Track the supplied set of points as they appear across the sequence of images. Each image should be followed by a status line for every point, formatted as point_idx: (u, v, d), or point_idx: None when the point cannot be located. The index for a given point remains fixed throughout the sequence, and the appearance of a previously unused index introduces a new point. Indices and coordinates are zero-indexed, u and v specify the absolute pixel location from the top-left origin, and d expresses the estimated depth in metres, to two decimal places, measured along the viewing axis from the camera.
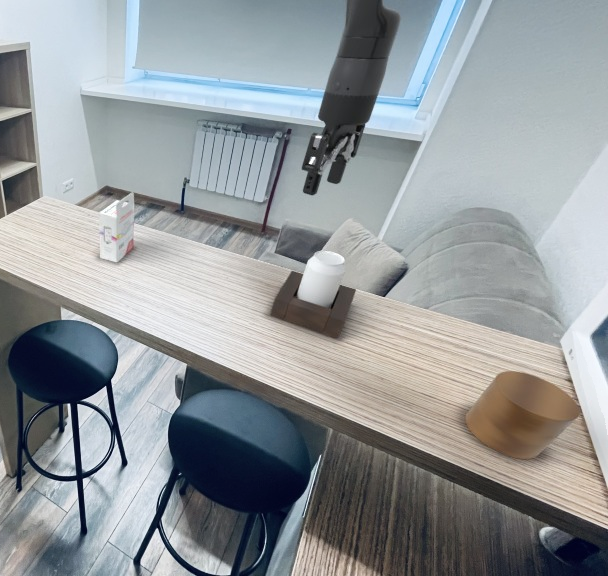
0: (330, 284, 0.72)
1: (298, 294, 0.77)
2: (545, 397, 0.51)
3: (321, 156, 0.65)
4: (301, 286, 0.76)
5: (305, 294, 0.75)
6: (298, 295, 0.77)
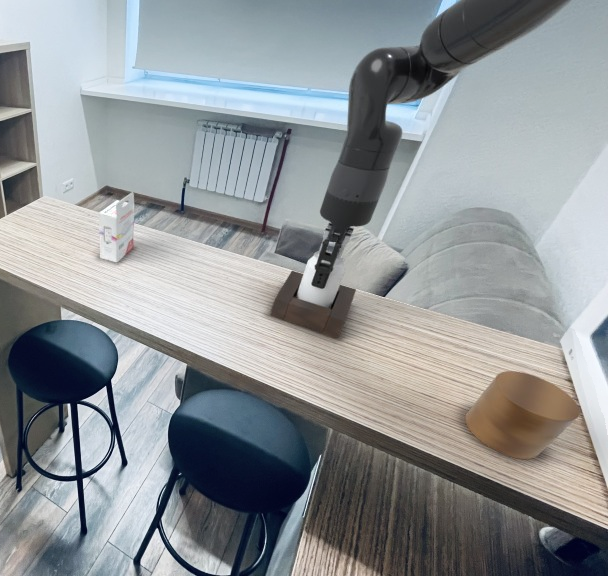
0: (330, 284, 0.72)
1: (298, 294, 0.77)
2: (545, 397, 0.51)
3: (335, 259, 0.66)
4: (301, 286, 0.76)
5: (305, 294, 0.75)
6: (298, 295, 0.77)
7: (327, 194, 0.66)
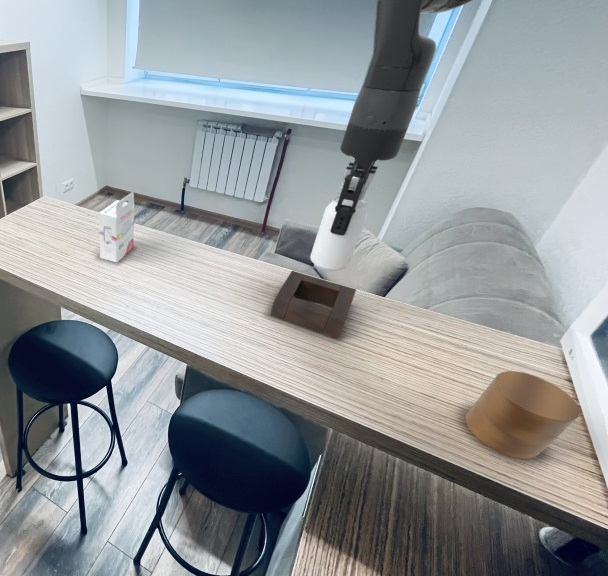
0: (351, 230, 0.66)
1: (315, 246, 0.71)
2: (545, 397, 0.51)
3: (358, 198, 0.60)
4: (318, 236, 0.70)
5: (322, 244, 0.69)
6: (315, 247, 0.71)
7: (349, 126, 0.60)
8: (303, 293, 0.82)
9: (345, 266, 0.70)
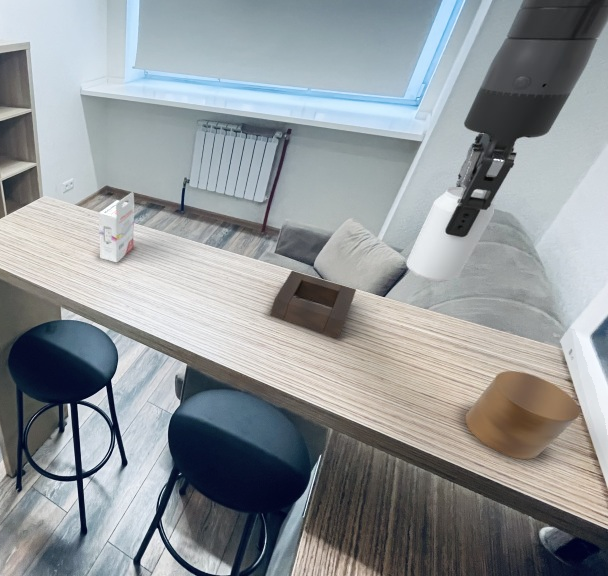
0: (473, 230, 0.51)
1: (416, 250, 0.57)
2: (545, 397, 0.51)
3: (498, 187, 0.45)
4: (422, 238, 0.56)
5: (430, 248, 0.55)
6: (416, 252, 0.57)
7: (484, 93, 0.46)
8: (303, 293, 0.82)
9: (457, 276, 0.55)
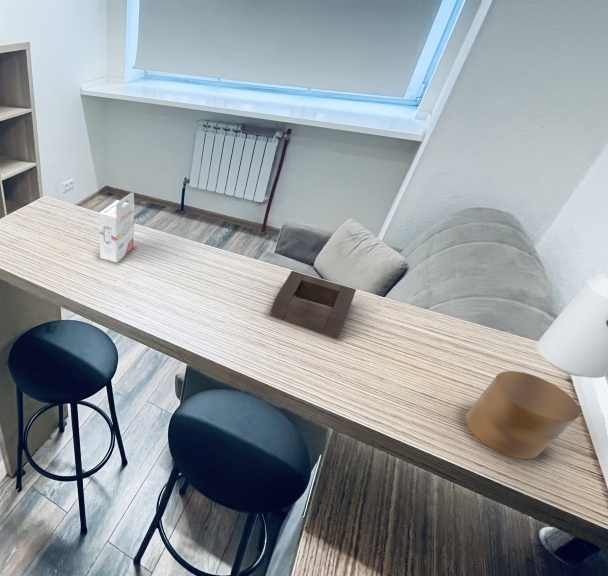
0: None
1: (555, 338, 0.47)
2: (545, 397, 0.51)
3: None
4: (568, 326, 0.45)
5: (579, 340, 0.44)
6: (556, 340, 0.47)
7: None
8: (303, 293, 0.82)
9: None
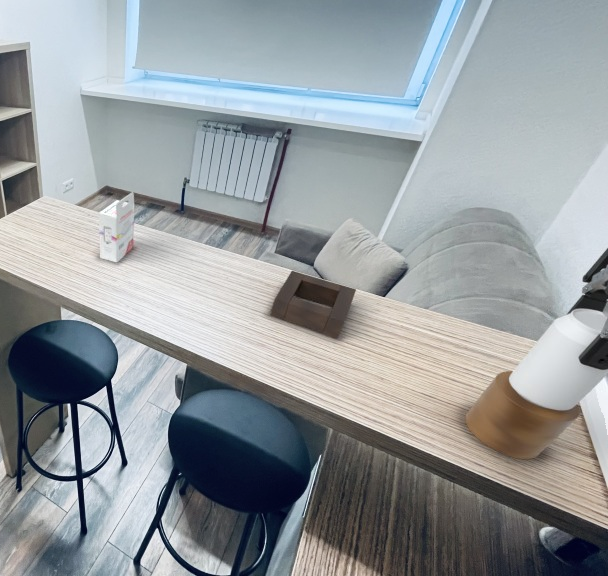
0: None
1: (526, 372, 0.50)
2: None
3: None
4: (536, 362, 0.49)
5: (547, 376, 0.48)
6: (526, 374, 0.50)
7: None
8: (303, 293, 0.82)
9: None
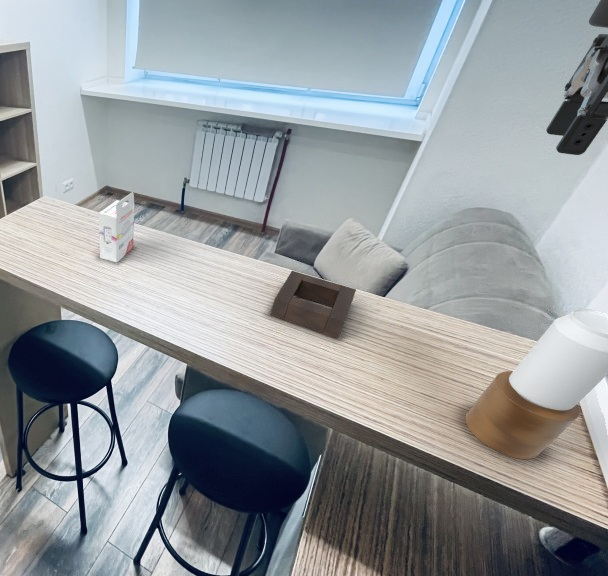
0: (607, 366, 0.44)
1: (526, 372, 0.50)
2: None
3: None
4: (536, 362, 0.49)
5: (547, 376, 0.48)
6: (526, 374, 0.50)
7: None
8: (303, 293, 0.82)
9: None
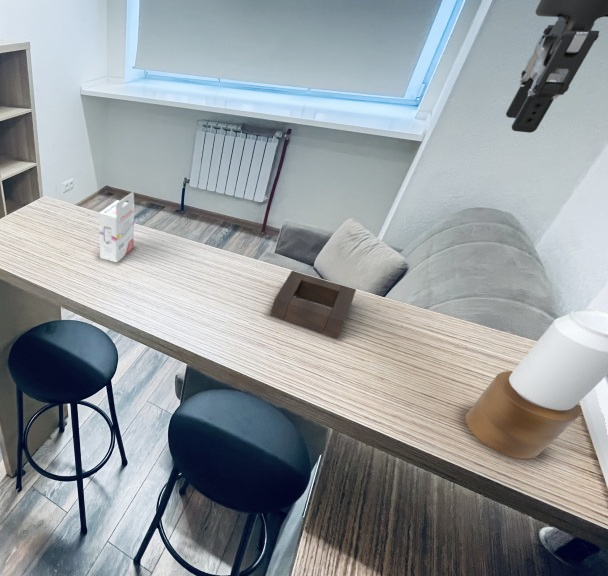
0: (607, 366, 0.44)
1: (526, 372, 0.50)
2: None
3: (579, 65, 0.43)
4: (536, 362, 0.49)
5: (547, 376, 0.48)
6: (526, 374, 0.50)
7: None
8: (303, 293, 0.82)
9: None
